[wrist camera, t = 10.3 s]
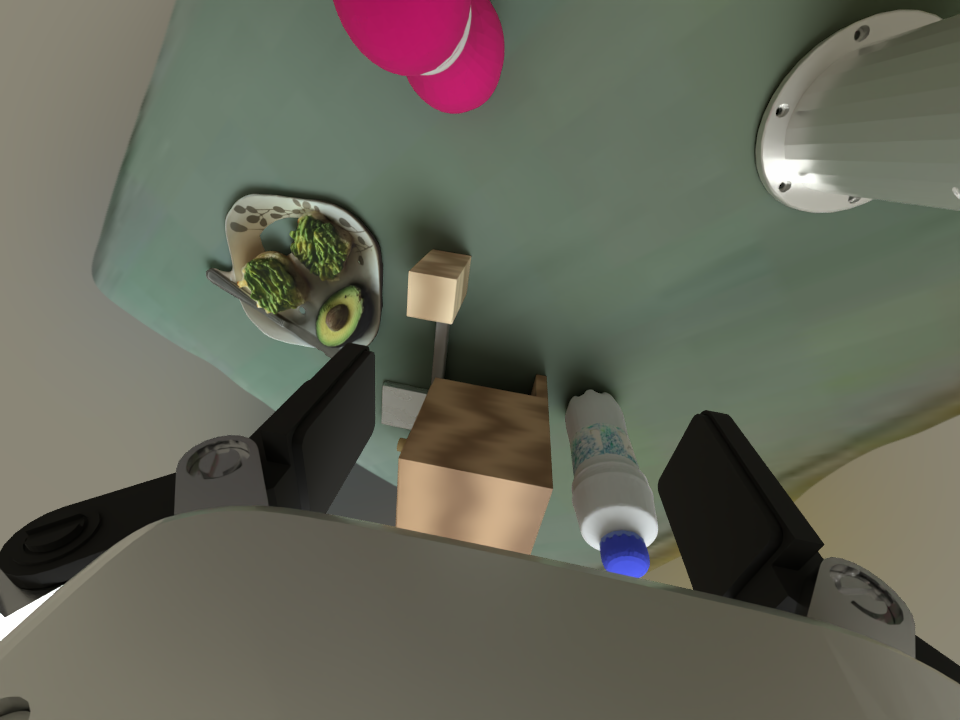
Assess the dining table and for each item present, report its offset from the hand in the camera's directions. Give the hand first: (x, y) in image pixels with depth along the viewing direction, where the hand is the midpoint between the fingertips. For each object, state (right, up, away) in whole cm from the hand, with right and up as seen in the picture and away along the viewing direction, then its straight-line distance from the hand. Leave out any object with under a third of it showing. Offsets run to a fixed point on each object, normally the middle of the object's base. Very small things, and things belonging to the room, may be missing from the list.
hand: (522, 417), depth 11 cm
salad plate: (-19, +11, +30) cm, 37 cm away
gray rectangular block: (-10, -4, +37) cm, 38 cm away
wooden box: (-1, -5, +35) cm, 36 cm away
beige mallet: (-6, +2, +32) cm, 33 cm away
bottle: (+12, -4, +33) cm, 35 cm away
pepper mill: (-3, +25, +19) cm, 32 cm away
